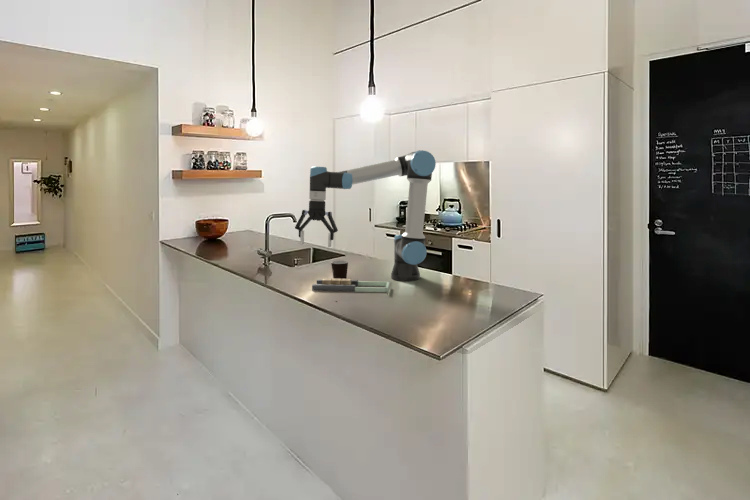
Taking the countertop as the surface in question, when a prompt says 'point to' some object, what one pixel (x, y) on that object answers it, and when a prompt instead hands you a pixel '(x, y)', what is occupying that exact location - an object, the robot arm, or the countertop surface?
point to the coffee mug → (339, 269)
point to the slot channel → (334, 286)
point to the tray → (372, 289)
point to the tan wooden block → (336, 281)
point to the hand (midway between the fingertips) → (315, 245)
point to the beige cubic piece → (346, 282)
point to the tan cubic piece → (327, 281)
